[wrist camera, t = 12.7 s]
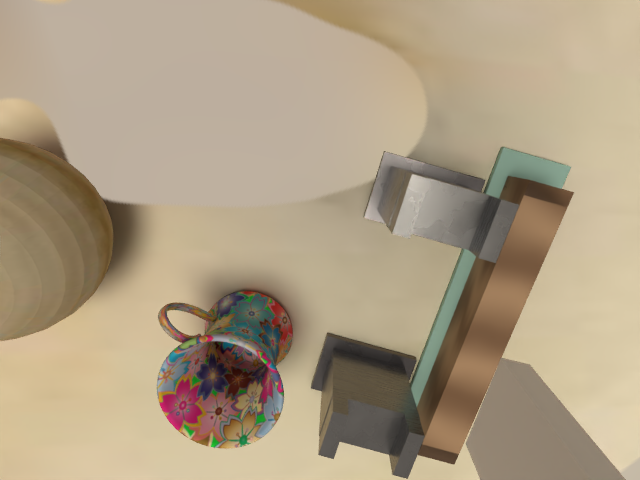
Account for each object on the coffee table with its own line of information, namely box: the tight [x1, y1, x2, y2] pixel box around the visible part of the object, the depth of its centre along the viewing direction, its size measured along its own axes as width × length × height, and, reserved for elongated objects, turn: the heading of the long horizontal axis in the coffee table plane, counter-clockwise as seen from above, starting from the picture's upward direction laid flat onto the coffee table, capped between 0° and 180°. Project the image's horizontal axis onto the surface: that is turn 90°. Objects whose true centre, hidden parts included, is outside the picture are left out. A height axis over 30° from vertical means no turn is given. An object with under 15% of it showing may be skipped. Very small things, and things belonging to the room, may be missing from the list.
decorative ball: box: [0, 138, 113, 341], centre depth 30 cm, size 15×15×15 cm
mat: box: [410, 147, 571, 407], centre depth 37 cm, size 30×6×1 cm, turn 164°
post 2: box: [364, 151, 519, 263], centre depth 30 cm, size 6×9×10 cm, turn 74°
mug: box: [157, 291, 293, 448], centre depth 33 cm, size 12×9×11 cm
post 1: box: [311, 333, 425, 479], centre depth 34 cm, size 6×9×10 cm, turn 74°
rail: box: [417, 176, 574, 464], centre depth 35 cm, size 26×4×4 cm, turn 164°
